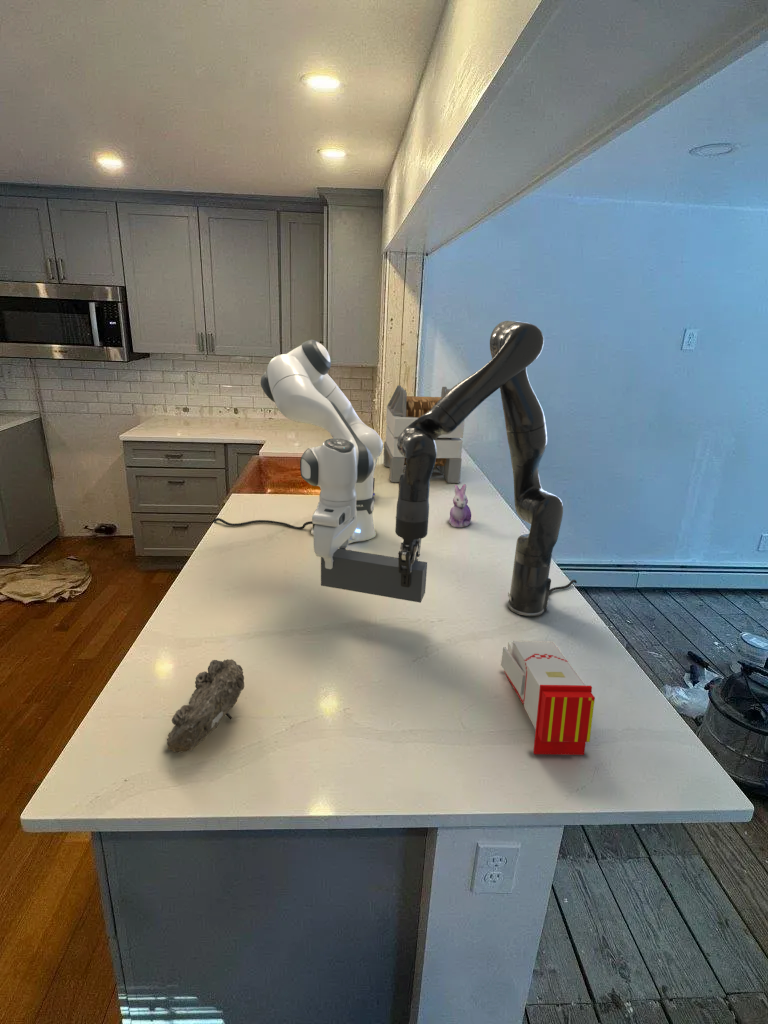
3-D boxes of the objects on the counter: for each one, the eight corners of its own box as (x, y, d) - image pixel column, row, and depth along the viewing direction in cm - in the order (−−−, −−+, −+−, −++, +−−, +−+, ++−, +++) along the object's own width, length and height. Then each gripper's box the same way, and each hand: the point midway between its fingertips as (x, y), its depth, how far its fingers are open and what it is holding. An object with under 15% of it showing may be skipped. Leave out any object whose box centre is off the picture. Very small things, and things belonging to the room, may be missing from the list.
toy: (549, 624, 127) (604, 693, 98) (544, 678, 130) (596, 762, 100) (496, 622, 127) (535, 692, 97) (491, 677, 129) (528, 761, 100)
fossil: (192, 660, 117) (244, 628, 112) (224, 691, 120) (276, 661, 115) (142, 746, 98) (202, 712, 93) (182, 779, 101) (242, 748, 96)
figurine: (457, 529, 205) (460, 490, 200) (441, 520, 214) (444, 482, 209) (478, 526, 210) (482, 487, 205) (462, 517, 218) (465, 480, 213)
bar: (320, 585, 141) (320, 554, 138) (328, 576, 146) (328, 546, 143) (420, 602, 135) (422, 571, 132) (425, 592, 140) (427, 562, 137)
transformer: (382, 463, 289) (386, 382, 275) (445, 464, 293) (451, 384, 279) (390, 482, 257) (394, 392, 243) (460, 483, 261) (468, 394, 247)
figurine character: (374, 507, 229) (374, 492, 242) (375, 490, 225) (375, 475, 239) (358, 507, 228) (358, 491, 242) (358, 490, 225) (359, 475, 238)
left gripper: (340, 493, 146) (339, 543, 151) (308, 519, 128) (308, 574, 132) (364, 496, 144) (362, 546, 149) (334, 523, 126) (333, 579, 131)
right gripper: (421, 528, 124) (416, 597, 130) (434, 507, 137) (429, 571, 143) (388, 523, 126) (385, 591, 132) (404, 504, 139) (400, 566, 145)
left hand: (336, 560), depth 140 cm, fingers open, 8 cm apart
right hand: (408, 580), depth 137 cm, fingers closed on bar, 5 cm apart
